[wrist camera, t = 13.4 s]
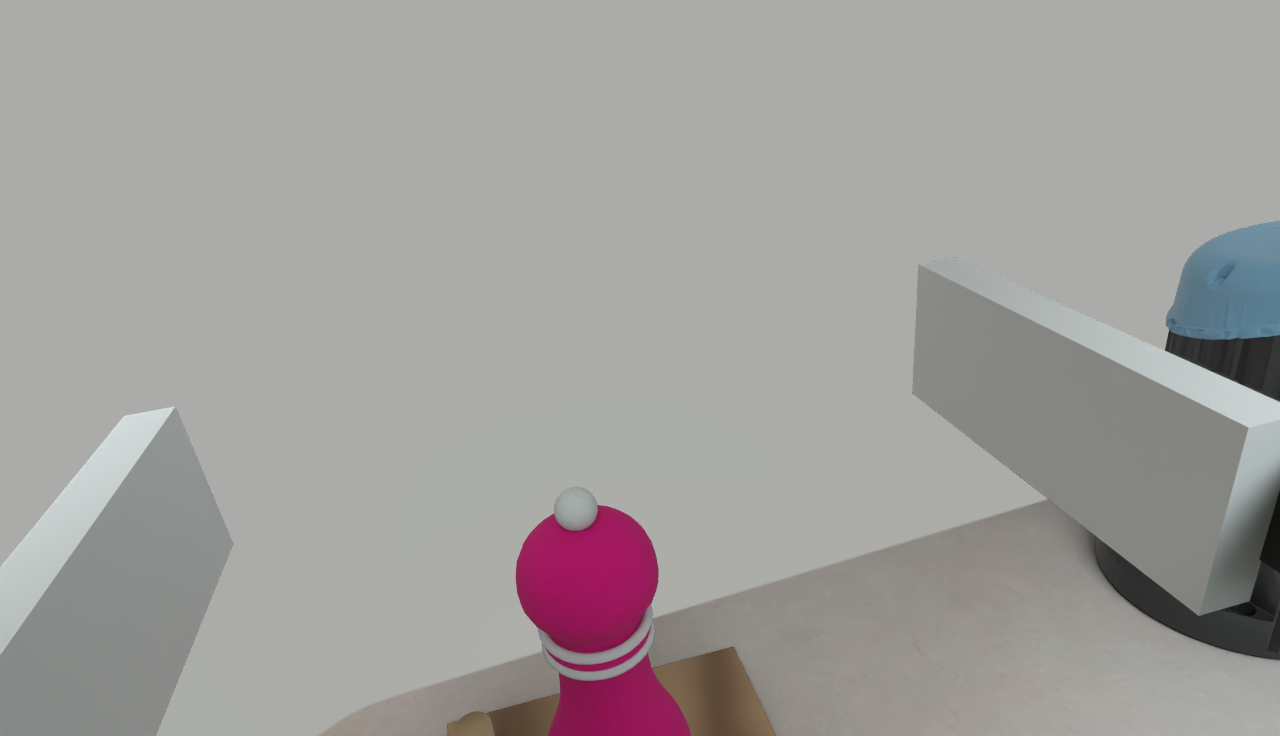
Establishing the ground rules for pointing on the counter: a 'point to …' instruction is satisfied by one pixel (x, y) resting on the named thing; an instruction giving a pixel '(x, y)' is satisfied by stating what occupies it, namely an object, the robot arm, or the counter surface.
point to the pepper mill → (597, 619)
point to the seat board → (702, 687)
